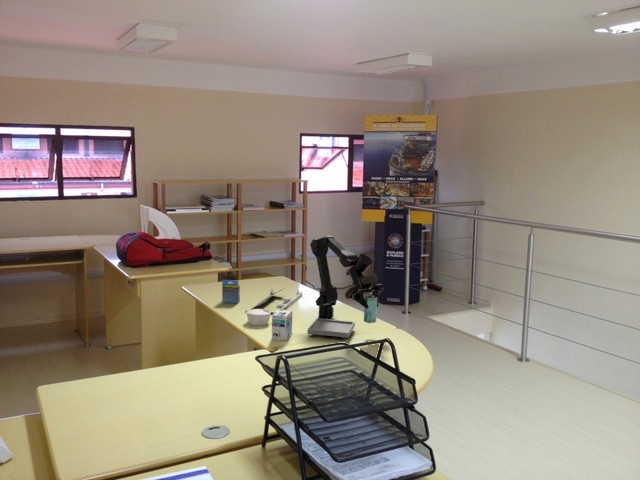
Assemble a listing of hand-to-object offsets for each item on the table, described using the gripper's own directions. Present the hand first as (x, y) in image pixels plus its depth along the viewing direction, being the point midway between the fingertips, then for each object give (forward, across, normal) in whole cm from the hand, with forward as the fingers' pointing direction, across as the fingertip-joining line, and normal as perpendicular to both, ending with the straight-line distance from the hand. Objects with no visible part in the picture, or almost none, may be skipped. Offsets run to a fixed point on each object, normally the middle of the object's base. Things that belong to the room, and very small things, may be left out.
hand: (372, 307), depth 264 cm
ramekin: (-20, -33, +40) cm, 56 cm away
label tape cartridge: (-49, -28, +69) cm, 89 cm away
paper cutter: (-39, -9, +60) cm, 72 cm away
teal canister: (+4, 0, +6) cm, 7 cm away
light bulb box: (-4, -35, +23) cm, 42 cm away
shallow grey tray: (+1, -13, +18) cm, 22 cm away
